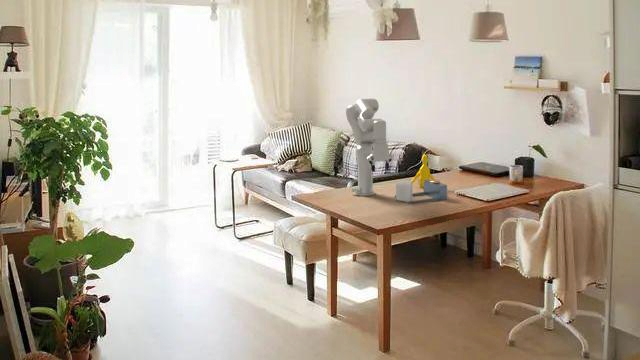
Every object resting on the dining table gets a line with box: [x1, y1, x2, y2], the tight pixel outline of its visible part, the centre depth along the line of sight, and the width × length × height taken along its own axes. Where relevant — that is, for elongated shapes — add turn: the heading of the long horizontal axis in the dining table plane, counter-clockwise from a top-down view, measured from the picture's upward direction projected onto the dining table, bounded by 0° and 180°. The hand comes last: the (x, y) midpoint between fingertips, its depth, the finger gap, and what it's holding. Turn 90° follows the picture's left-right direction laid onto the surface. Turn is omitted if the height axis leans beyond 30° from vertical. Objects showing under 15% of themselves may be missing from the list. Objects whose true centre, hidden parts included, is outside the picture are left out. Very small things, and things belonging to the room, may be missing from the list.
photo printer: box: [395, 180, 413, 203], centre depth 352 cm, size 10×4×12 cm, turn 57°
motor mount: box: [394, 179, 448, 205], centre depth 356 cm, size 26×19×10 cm
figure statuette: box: [410, 154, 437, 188], centre depth 387 cm, size 18×8×22 cm, turn 93°
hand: (380, 170), depth 344 cm, fingers open, 8 cm apart
